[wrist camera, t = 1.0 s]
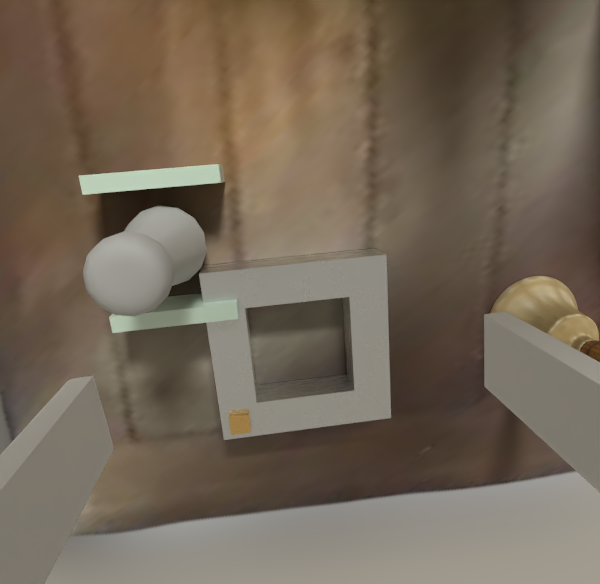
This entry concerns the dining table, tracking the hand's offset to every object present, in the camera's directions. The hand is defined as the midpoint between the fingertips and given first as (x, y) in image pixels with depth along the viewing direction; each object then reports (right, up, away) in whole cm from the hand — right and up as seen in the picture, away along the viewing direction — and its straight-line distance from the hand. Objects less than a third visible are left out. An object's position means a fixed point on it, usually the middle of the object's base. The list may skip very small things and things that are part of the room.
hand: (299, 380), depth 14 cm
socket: (0, -1, +22) cm, 22 cm away
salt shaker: (-10, +7, +19) cm, 23 cm away
